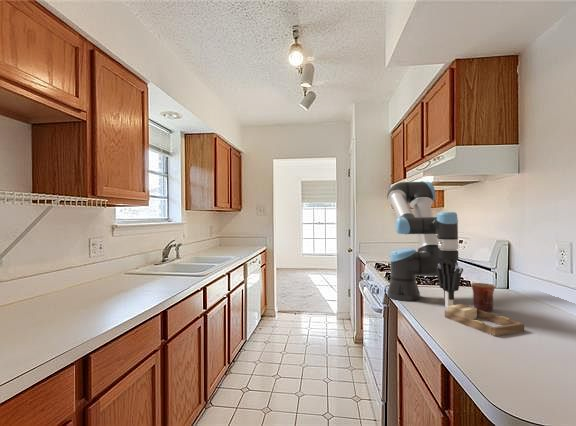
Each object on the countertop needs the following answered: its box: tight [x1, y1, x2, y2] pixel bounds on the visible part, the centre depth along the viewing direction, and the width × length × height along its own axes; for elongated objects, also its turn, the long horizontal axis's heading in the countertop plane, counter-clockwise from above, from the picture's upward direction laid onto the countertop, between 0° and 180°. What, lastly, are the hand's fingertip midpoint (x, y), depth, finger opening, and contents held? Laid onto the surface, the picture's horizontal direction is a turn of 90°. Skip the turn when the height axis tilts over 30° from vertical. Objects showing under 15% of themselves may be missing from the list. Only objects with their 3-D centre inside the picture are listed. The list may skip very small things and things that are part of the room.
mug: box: [470, 282, 496, 312], centre depth 132 cm, size 12×9×10 cm
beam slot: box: [444, 309, 525, 337], centre depth 116 cm, size 21×14×3 cm, turn 18°
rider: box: [447, 303, 478, 320], centre depth 124 cm, size 7×7×4 cm
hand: (449, 306), depth 130 cm, fingers closed
